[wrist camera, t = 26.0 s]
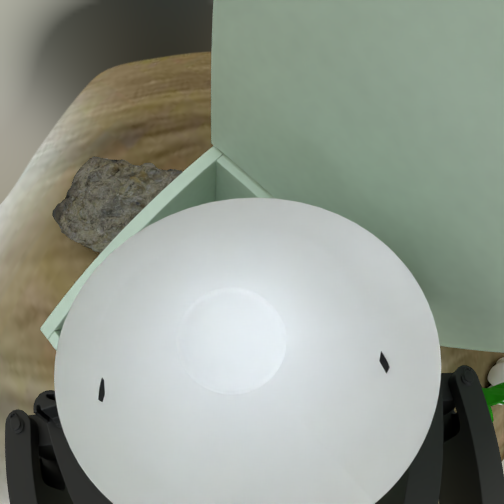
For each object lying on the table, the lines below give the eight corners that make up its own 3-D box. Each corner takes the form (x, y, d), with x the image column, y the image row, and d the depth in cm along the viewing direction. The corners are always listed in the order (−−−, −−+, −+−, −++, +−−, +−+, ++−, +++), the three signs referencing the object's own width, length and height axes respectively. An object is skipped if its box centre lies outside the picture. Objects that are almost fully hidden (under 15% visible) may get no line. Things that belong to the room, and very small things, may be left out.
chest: (242, 447, 20) (257, 510, 11) (99, 321, 21) (39, 328, 12) (351, 328, 23) (417, 337, 14) (214, 200, 24) (216, 143, 15)
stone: (202, 177, 24) (201, 162, 21) (180, 271, 22) (174, 267, 20) (73, 160, 23) (60, 147, 20) (47, 240, 21) (30, 234, 18)
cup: (237, 238, 17) (278, 115, 6) (331, 342, 17) (481, 379, 5) (128, 333, 15) (-7, 371, 4) (228, 435, 15) (251, 579, 3)
